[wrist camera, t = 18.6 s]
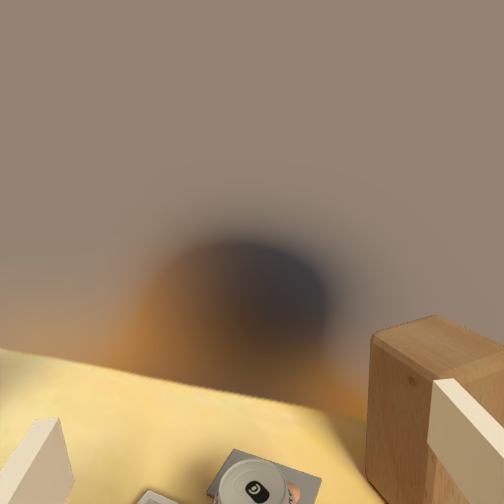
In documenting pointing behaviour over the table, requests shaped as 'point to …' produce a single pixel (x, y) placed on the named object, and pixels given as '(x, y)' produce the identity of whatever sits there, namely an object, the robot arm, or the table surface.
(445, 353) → the wooden block
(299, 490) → the grey button plate
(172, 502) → the socket plate
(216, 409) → the table surface
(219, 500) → the energy drink can
